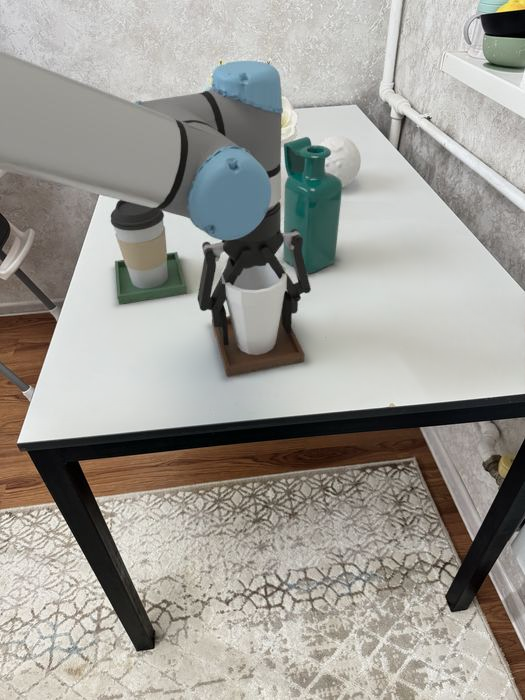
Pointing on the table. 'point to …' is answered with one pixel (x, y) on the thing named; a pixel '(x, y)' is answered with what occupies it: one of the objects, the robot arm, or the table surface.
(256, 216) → the robot arm
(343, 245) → the table surface
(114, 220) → the coffee cup
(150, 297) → the sage tray
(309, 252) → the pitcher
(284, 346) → the walnut tray
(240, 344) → the foam cup
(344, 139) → the decorative ball
